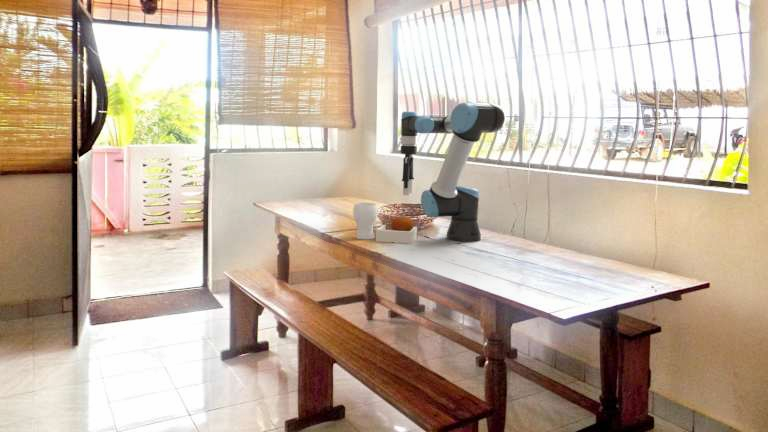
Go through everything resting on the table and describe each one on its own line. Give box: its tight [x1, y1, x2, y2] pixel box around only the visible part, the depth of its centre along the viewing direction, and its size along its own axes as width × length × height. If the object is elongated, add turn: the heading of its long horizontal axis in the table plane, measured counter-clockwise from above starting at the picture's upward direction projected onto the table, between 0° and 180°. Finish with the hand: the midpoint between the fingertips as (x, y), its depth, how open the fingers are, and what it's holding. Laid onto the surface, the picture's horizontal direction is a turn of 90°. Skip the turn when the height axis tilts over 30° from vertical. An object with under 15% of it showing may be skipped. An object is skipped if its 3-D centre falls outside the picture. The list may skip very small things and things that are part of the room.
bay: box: [375, 219, 419, 245], centre depth 273 cm, size 16×16×7 cm
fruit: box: [390, 215, 415, 231], centre depth 287 cm, size 11×10×8 cm
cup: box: [352, 202, 379, 240], centre depth 274 cm, size 11×11×15 cm
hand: (407, 194), depth 294 cm, fingers open, 8 cm apart
